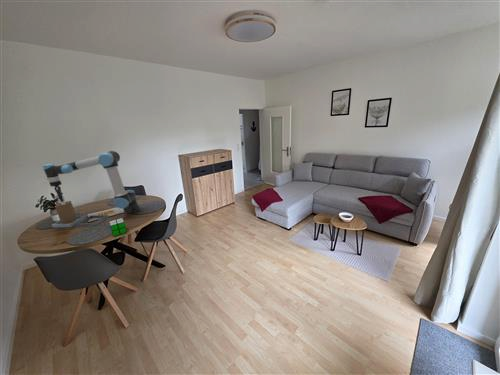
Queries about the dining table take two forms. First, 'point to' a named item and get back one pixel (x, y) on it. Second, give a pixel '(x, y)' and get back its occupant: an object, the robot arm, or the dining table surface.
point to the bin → (60, 225)
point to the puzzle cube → (118, 227)
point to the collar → (92, 223)
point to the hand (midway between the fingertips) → (63, 203)
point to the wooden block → (66, 212)
